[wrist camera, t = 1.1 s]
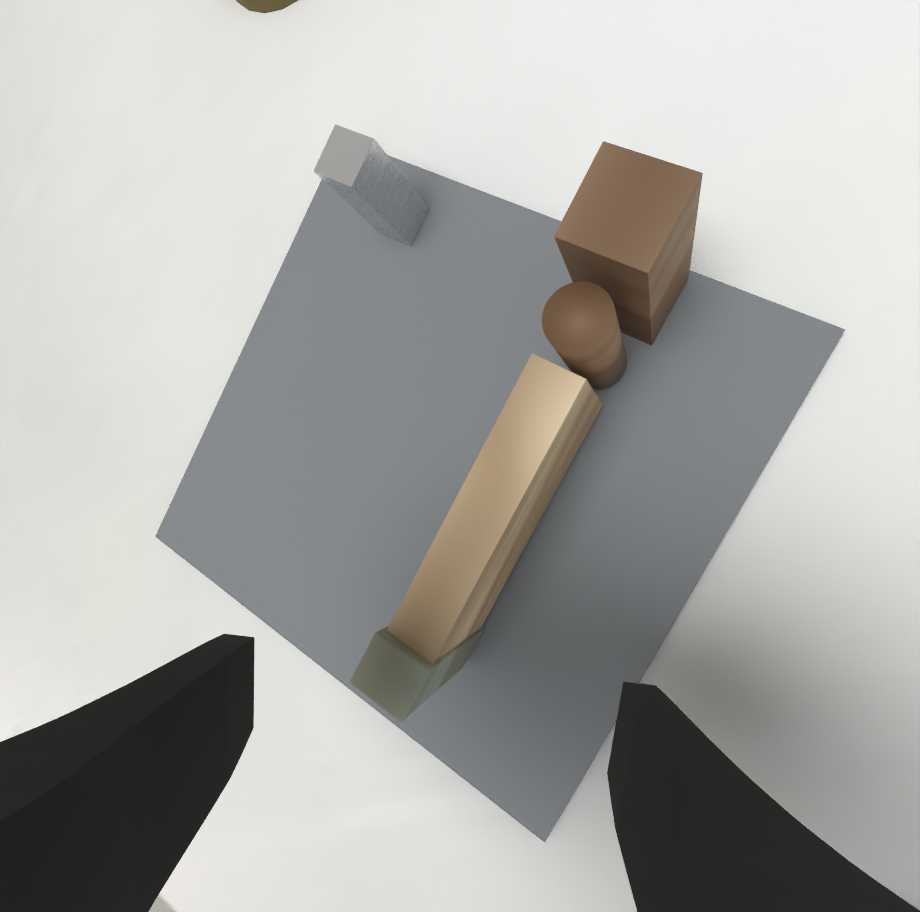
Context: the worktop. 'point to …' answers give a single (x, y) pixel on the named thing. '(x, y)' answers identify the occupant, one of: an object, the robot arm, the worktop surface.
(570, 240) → the hinge post
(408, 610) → the gate
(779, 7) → the worktop surface
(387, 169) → the post
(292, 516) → the mat
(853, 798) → the worktop surface
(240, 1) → the cork
